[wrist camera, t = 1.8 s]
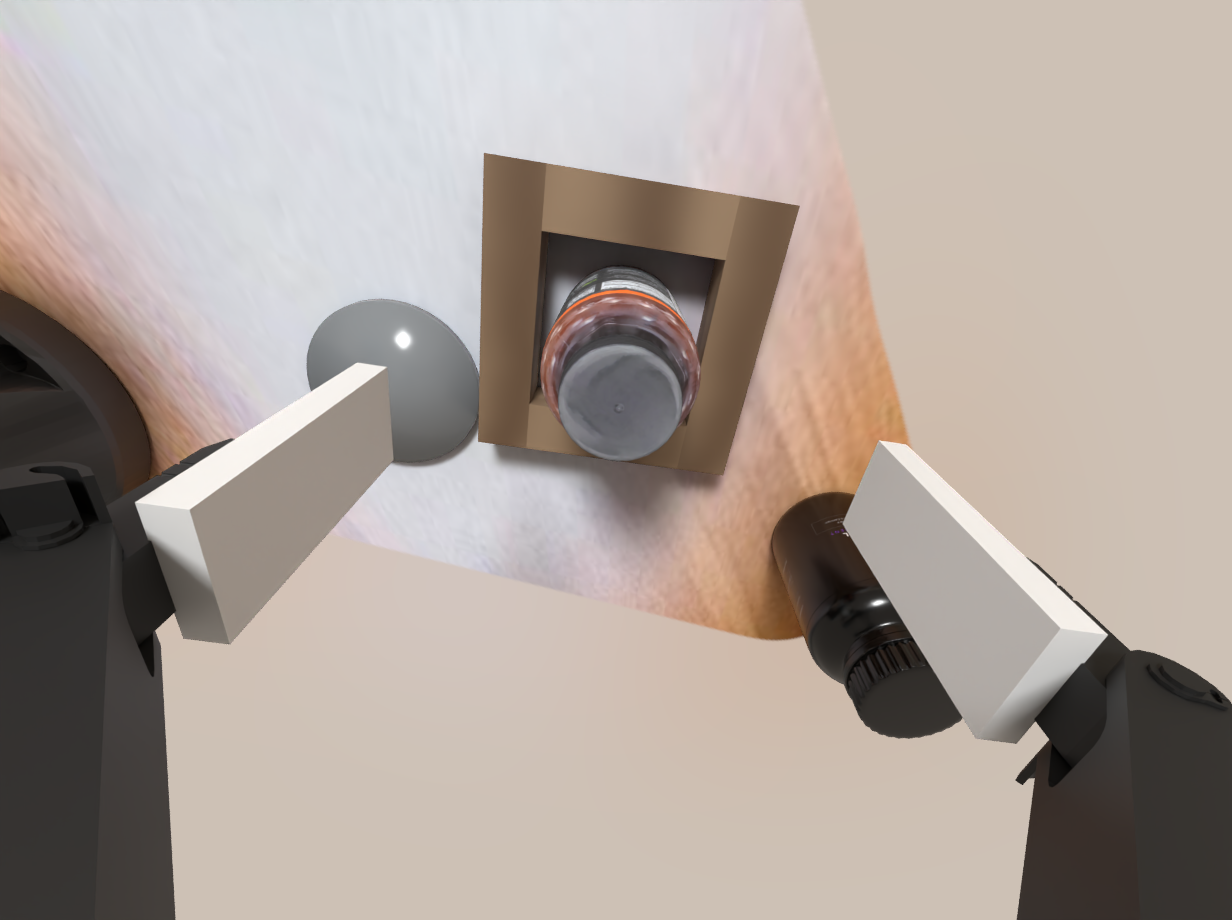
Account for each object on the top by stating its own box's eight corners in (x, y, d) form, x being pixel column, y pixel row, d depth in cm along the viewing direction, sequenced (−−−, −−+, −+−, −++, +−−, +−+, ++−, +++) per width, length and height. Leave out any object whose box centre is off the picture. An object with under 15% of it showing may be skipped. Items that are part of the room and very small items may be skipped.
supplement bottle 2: (864, 469, 30) (995, 626, 19) (891, 553, 33) (1019, 729, 22) (752, 513, 31) (816, 680, 21) (787, 589, 34) (859, 770, 24)
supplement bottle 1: (641, 398, 28) (650, 517, 18) (543, 346, 27) (493, 442, 17) (702, 300, 25) (752, 375, 15) (596, 237, 24) (576, 274, 14)
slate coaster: (323, 445, 30) (318, 450, 29) (301, 286, 25) (294, 288, 25) (479, 466, 30) (477, 471, 30) (482, 313, 26) (480, 316, 25)
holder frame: (489, 422, 29) (478, 441, 26) (497, 156, 23) (483, 153, 20) (715, 453, 29) (723, 475, 27) (783, 204, 23) (799, 205, 21)
